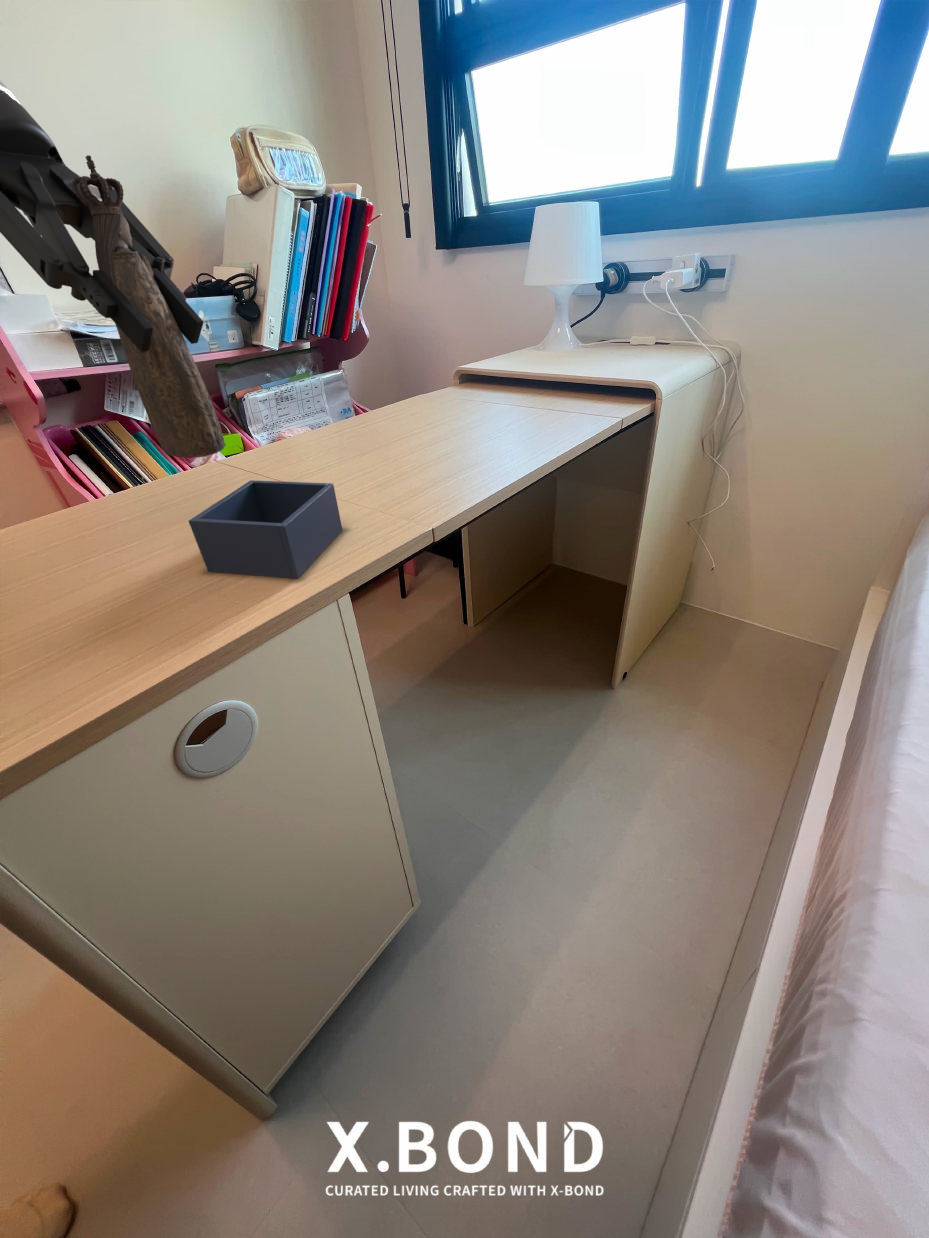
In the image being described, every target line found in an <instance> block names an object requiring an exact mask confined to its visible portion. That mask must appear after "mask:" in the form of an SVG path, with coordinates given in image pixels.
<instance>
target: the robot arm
mask: <svg viewBox="0 0 929 1238" xmlns="http://www.w3.org/2000/svg"><path fill="white" fill-rule="evenodd" d="M79 177H81V176H80V175H79V174H78V173H76V172H75V171H73V170H72V169H71V168H69V167H68V166H67V165H66V164H65V162H64V160H63V159H62V157H61V155H60V152H59V150H58V148H57V146H56V144H55V143H54V141H53V140H52V139H51V137H50V135H48V134H47V132H46V131H45V130H44V129H43V127H42V126H41V125H40V124H39V123H38V122H37V121H36V120H35V119H34V117H33V116H32V115H31V114H30V113H29V112H28V111H27V109H26V108H25V107H24V106H23V105H22V104H21V103H20V101H18V99H17V97H15V95H14V94H13V93H12V91H11V90H9V88H8V87H7V86H6V85H5V84H4V82H2V81H1V80H0V234H1V235H2V236H3V237H4V238H5V240H6V241H7V242H8V243H9V244H10V245H11V246H12V248H14V250H15V251H16V252H17V253H18V254H19V256H21V257H22V259H24V261H25V262H26V263H27V264H28V265H29V266H30V267H31V269H32V270H33V271H34V272H35V273H36V274H37V275H38V276H39V277H40V278H41V280H42V281H43V282H44V283H45V284H46V285H47V286H48V287H50V288H51V289H54V290H60V289H62V288H63V286H64V287H69V288H71V290H70V295H71V297H72V298H74V299H76V300H77V301H83V302H84V301H87V302H88V303H89V304H90V305H91V306H92V307H93V308H94V309H95V311H96V312H97V313H98V314H99V315H101V316H102V317H104V318H105V319H111V320H112V321H113V323H114V324H115V323H116V324H115V326H116V325H117V326H118V327H119V328H120V329H121V330H122V331H123V332H124V333H125V335H126V336H127V337H128V338H129V339H130V340H131V341H132V342H133V343H134V344H135V346H136V347H137V348H138V349H139V350H140V351H141V352H144V351H148V350H149V345H150V341H151V336H152V331H153V327H152V326H151V325H150V324H149V323H148V322H147V321H146V320H145V318H144V317H143V316H142V315H141V314H140V313H139V312H138V311H137V310H136V308H135V307H134V306H133V305H132V304H131V303H130V302H129V301H128V299H127V298H126V297H125V296H124V295H123V294H122V293H121V292H120V290H119V289H118V288H117V287H116V286H115V285H114V284H113V283H112V282H111V280H110V279H109V278H108V277H107V276H106V275H105V274H104V273H103V271H102V270H99V269H93V270H92V274H91V272H90V266H89V264H88V263H87V261H86V259H85V258H84V256H83V254H82V252H81V251H80V250H79V247H78V246H77V244H76V242H75V241H74V239H73V237H72V235H71V234H70V232H69V231H68V229H67V227H66V225H67V226H70V227H72V228H73V230H75V231H76V232H77V233H79V234H80V235H81V236H82V237H83V238H85V239H92V240H93V241H94V242H95V235H94V228H93V216H91V212H90V208H89V207H87V206H86V205H85V204H83V203H82V201H81V200H80V199H79V198H78V197H77V195H76V194H75V193H74V190H73V189H72V188H73V186H72V180H74V178H79ZM108 187H109V191H110V196H111V202H112V203H115V202H116V201H117V193H116V190H115V188H114V187H112V186H108ZM77 188H78V190H79V192H80V193H81V190H80V183H79V184H77ZM88 188H89V190H90V191H91V193H92V195H93V196H94V198H95V199H96V200H97V202H99V201H102V199H101V196H100V193H99V190H98V188H97V187H95V186H93V185H88ZM81 194H82V193H81ZM120 209H121V211H122V214H123V215H124V217H125V219H126V221H127V222H128V225H129V228H130V230H129V231H130V235H131V237H132V239H131V242H132V247H131V248H128V249H130V250H131V251H137V252H138V254H139V255H140V258H141V254H143V255H144V256H145V258H146V259H147V260H148V261H149V263H150V265H151V268H152V271H153V274H154V279H155V280H156V282H157V286H158V288H159V290H160V292H161V294H162V295H163V297H164V299H165V301H166V303H167V305H168V307H169V309H170V311H171V313H172V314H173V317H174V319H175V320H176V323H177V325H178V327H179V329H180V331H181V333H182V335H183V337H185V338H186V340H187V341H188V342H189V343H190V344H191V345H194V344H198V343H199V340H200V336H201V332H202V329H203V326H204V323H205V322H204V320H203V319H202V318H201V317H200V316H199V315H198V314H197V312H196V311H195V310H194V309H193V308H192V307H191V305H190V304H189V303H188V302H187V298H186V296H185V294H184V293H183V292H182V291H181V289H180V288H179V287H178V286H177V285H176V284H175V282H174V281H173V280H172V279H171V277H172V273H173V268H174V264H175V259H174V258H173V256H171V254H169V252H168V251H167V250H166V249H165V248H164V246H162V244H161V243H160V242H159V241H158V240H157V238H155V236H154V235H153V234H152V233H151V232H150V231H149V230H148V228H147V227H146V226H145V225H144V224H143V223H142V222H141V220H139V218H138V217H137V216H136V215H135V214H134V212H132V210H131V209H130V208H129V207H128V206H127V205H126V204H125V202H124V201H123V202H122V206H121V208H120ZM20 211H21V212H22V213H21V212H20ZM25 216H26V217H27V218H26V217H25Z"/></svg>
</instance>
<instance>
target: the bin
mask: <svg viewBox="0 0 929 1238" xmlns="http://www.w3.org/2000/svg"><path fill="white" fill-rule="evenodd" d="M188 524H189V527H190V530H191V531H192V535H193V537H194V540H195V542H196V545H197V548H198V550H199V552H200V554H201V557H202V560H203V563H204V565H205V567H206V570H207V572H208V573H218V574H232V575H244V576H245V575H246V576H257V577H270V578H282V579H297V580H299V578H301V576H303V575H304V573H305V572H306V571H307V570H308V569H309V568H310V567H311V566H312V565H313V564H314V563H315V561H317V559H318V558H319V557H320V556H321V555H322V554H323V553H324V551H326V549H328V547H329V546H330V545H331V544H332V543H333V542H334V541H335V540H336V539H337V538H338V536H339V535H340V534H341V533H342V532H343V531H344V530H343V525H342V520H341V515H340V511H339V505H338V500H337V495H336V490H335V485H334V483H328V482H306V481H305V482H302V481H299V482H298V481H280V480H279V481H277V480H253V479H252V480H249V481H247V482H246V483H244V484H243V485H241V486H240V487H238V488H236V489H235V490H233V491H232V492H230V493H229V494H228V495H226V496H224V497H223V498H221V499H219V500H218V501H217V502H215V503H214V504H212V505H210V506H209V507H208V508H206V509H204V510H202V511H201V512H200V513H198V514H196V515H195V516H194V517H192V518H190V519H189V520H188Z"/></svg>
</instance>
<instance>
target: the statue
mask: <svg viewBox="0 0 929 1238" xmlns="http://www.w3.org/2000/svg"><path fill="white" fill-rule="evenodd" d="M85 160H86V161H85V163H86V165H87V168H88V170H90V174H89V176H87V175H82V176H80V177H79V178H74V180H72V186H73V188H72V189H73V190H74V193H75V194H76V195H77V197H78V198H79V199H80V200H81V201H82V203H83V204H85V205H86V206H87V207H89V208H90V212H91V216H93V228H94V235H95V241H94V248H95V249H94V250H95V258H96V263H97V267H98V270H102V271H103V273H104V274H105V275H106V276H107V277H108V278H109V279H110V280H111V282H112V283H113V284H114V285H115V286H116V287H117V288H118V289H119V290H120V292H121V293H122V294H123V295H124V296H125V297H126V298H127V299H128V301H129V302H130V303H131V304H132V305H133V306H134V307H135V308H136V310H137V311H138V312H139V313H140V314H141V315H142V316H143V317H144V318H145V320H146V321H147V322H148V323H149V324H150V325H151V326H152V327H153V331H152V336H151V341H150V345H149V350H148V351H144V352H141V351H140V350H139V349H138V348H137V347H136V346H135V344H134V343H133V342H132V341H131V340H130V339H129V338H128V337H127V336H126V335H125V333H124V332H123V331H122V330H121V329H120V328H119V327H118V326H117V325H116V323H115V322H114V325H115V327H116V330H117V333H118V337H119V339H120V342H121V346H122V349H123V351H124V355H125V359H126V361H127V364H128V366H129V369H130V373H131V376H132V378H133V381H134V384H135V387H136V389H137V391H138V395H139V397H140V400H141V402H142V405H143V407H144V409H145V413H146V415H147V418H148V420H149V424H150V425H151V428H152V430H153V432H154V434H155V436H156V439H157V441H158V444H159V445H160V447H161V449H163V450H164V453H165V454H166V455H169V456H171V457H175V458H184V459H192V458H193V459H194V458H203V457H208V456H211V455H215V454H217V453H220V452H221V451H222V450H225V447H226V445H227V444H226V442H225V438H224V435H223V431H222V427H221V424H220V422H219V418H218V415H217V414H216V410H215V407H214V405H213V403H212V399H211V397H210V394H209V392H208V390H207V386H206V385H205V382H204V380H203V378H202V375H201V372H200V371H199V368H198V366H197V364H196V362H195V359H194V357H193V355H192V354H191V351H190V348H189V347H188V344H187V341H186V340H185V338H184V335H183V334H182V333H181V331H180V329H179V327H178V325H177V323H176V320H175V319H174V317H173V314H172V313H171V311H170V309H169V307H168V305H167V303H166V301H165V299H164V297H163V295H162V294H161V292H160V290H159V288H158V286H157V282H156V280H155V279H154V274H153V271H152V268H151V265H150V263H149V261H148V260H147V259H146V258H145V256H144V255H143V254H141V258H140V255H139V254H138V252H137V251H131V250H130V249H128V248H131V247H132V242H131V239H132V237H131V235H130V231H129V230H130V228H129V225H128V222H127V221H126V219H125V217H124V215H123V214H122V211H121V209H120V208H121V206H122V202H124V195H125V194H124V188H123V185H122V184H121V182H120V181H119V180H117V179H116V178H113V177H106V178H105V177H103V176H102V175H101V174H99V173H98V172H97V170H96V168H97V167H96V165H95V162H94V160H93V159H92V156H91V155H88V154H87V155H85ZM79 183H80V190H81V193H82V194H81V193H80V192H79V190H78V188H77V184H79ZM88 185H90V186H94V187H97V188H98V190H99V193H100V196H101V199H102V201H99V202H97V200H96V199H95V198H94V196H93V195H92V193H91V191H90V190H89V188H88ZM108 186H112V187H114V188H115V190H116V193H117V201H116V202H115V203H112V202H111V196H110V191H109V187H108Z"/></svg>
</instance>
